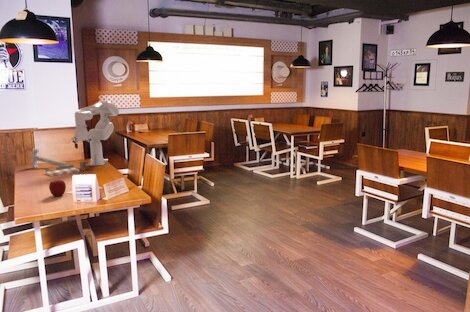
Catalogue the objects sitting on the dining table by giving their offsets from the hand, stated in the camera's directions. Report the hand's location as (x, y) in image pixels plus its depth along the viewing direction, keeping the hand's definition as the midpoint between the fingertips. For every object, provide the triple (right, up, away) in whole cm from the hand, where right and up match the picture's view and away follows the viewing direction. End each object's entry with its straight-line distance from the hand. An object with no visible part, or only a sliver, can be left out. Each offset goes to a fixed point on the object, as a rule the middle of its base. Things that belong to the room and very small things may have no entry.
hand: (82, 147), depth 320 cm
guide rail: (-16, -18, -6) cm, 25 cm away
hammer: (-33, -17, +12) cm, 39 cm away
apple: (+15, -32, -77) cm, 85 cm away
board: (-12, -20, -10) cm, 26 cm away
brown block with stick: (+2, -18, +2) cm, 18 cm away
